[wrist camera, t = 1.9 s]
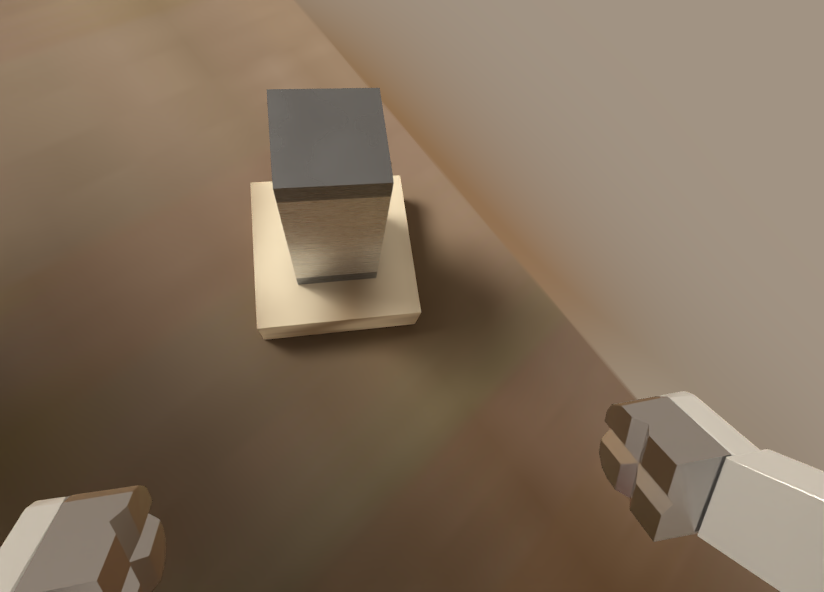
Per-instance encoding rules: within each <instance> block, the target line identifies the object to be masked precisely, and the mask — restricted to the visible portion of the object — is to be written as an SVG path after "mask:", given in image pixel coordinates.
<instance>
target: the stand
mask: <svg viewBox="0 0 824 592" xmlns="http://www.w3.org/2000/svg"><path fill="white" fill-rule="evenodd" d="M393 181H394V184H393V189H392V195H391V200H390V206H389V211H388V217H387V222H386V227H385V233H384V238H383V244H382V249H381V255H380V260H379V266H378V271H377V276H376V278H371V279H360V280H348V281H336V282H325V283H313V284H301V285H298V283H297V279H296V276H295V272H294V268H293V264H292V260H291V256H290V253H289V249H288V245H287V241H286V237H285V234H284V230H283V226H282V222H281V218H280V214H279V211H278V207H277V203H276V199H275V195H274V191H273V184H272V182H253V183H251V206H252V228H253V251H254V274H255V297H256V319H257V330H258V331H259V333H260V334H261V336H262V337H263V339H264V340H267V339H276V338H286V337H295V336H305V335H314V334H324V333H334V332H343V331H353V330H362V329H372V328H381V327H391V326H400V325H410V324H415V323H416V321H417V319H418V317H419V315H420V314H421V308H420V301H419V295H418V288H417V282H416V276H415V269H414V263H413V256H412V250H411V244H410V237H409V231H408V224H407V218H406V212H405V205H404V199H403V192H402V186H401V180H400V176H393Z"/></svg>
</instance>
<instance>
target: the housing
mask: <svg viewBox="0 0 824 592" xmlns="http://www.w3.org/2000/svg"><path fill="white" fill-rule="evenodd" d="M267 101H268V118H269V135H270V151H271V168H272V184H273V191H274V195H275V199H276V203H277V207H278V211H279V214H280V218H281V222H282V226H283V230H284V234H285V237H286V241H287V245H288V249H289V253H290V256H291V260H292V264H293V268H294V272H295V276H296V279H297V283H298V285H301V284H313V283H325V282H336V281H348V280H360V279H371V278H376V276H377V271H378V266H379V260H380V255H381V249H382V244H383V238H384V233H385V227H386V222H387V217H388V211H389V206H390V200H391V195H392V189H393V184H394V181H393V174H392V168H391V161H390V154H389V148H388V141H387V134H386V128H385V121H384V115H383V108H382V101H381V95H380V88H343V89H273V90H267Z"/></svg>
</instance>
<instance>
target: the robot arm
mask: <svg viewBox="0 0 824 592" xmlns="http://www.w3.org/2000/svg"><path fill="white" fill-rule="evenodd" d="M605 422H606V423H607V425H608V426H609V428H610V429H609V431H608V432H607V433H606V434H605V435H604V436H603V437H602V439H601V443H600V449H599V455H600V460H601V465H602V468H603V471H604V473H605V475H606V477H607V479H608V480H609V482H610V483H611V485H612V486H613V487H614V489H615V490H617V491H619V492H620V493H622V494H624V495H626V496H628V497H629V498H630V511H631V512H632V513H633V515H634V516H635V517H636V519H637V520H638V522H639V523H640V524H641V526H642V527H643V528H644V530H645V531H646V532H647V534H648V535H649V536H650V538H651V539H652V540H653V542H655V541H660V540H665V539H670V538H675V537H681V536H686V535H691V534H696V533H698V537H700V538H701V539H703V540H704V541H706V542H707V543H709V544H710V545H712V546H713V547H715V548H716V549H718V550H719V551H721V552H722V553H724V554H725V555H727V556H728V557H730V558H731V559H733V560H734V561H736V562H737V563H739V564H740V565H741V566H743V567H744V568H746V569H747V570H749V571H750V572H752V573H753V574H755V575H756V576H758V577H759V578H761V579H762V580H764V581H765V582H767V583H768V584H770V585H771V586H773V587H774V588H776V589H777V590H779V591H780V592H824V471H822V470H819V469H817V468H814V467H812V466H809V465H807V464H804V463H801V462H799V461H797V460H794V459H792V458H789V457H787V456H784V455H782V454H779V453H777V452H774V451H772V450H769V449H765V450H760V449H758V448H757V447H756V446H755V445H753V444H752V443H751V442H750V441H749V440H748V439H746V438H745V437H744V436H743V435H741V434H740V433H739V432H738V431H737V430H736V429H734V428H733V427H732V426H731V425H729V423H727V422H726V421H725V420H724V419H723V418H721V417H720V416H719V415H718V414H717V413H716V412H714V411H713V410H712V409H711V408H710V407H708V406H707V405H706V404H705V403H704V402H702V401H701V400H700V399H699V398H697V397H696V396H695V395H694V394H692V393H689V392H687V391H682V392H676V393H671V394H665V395H661V396H655V397H650V398H644V399H638V400H633V401H627V402H622V403H616V404H612V405H611V406H610V407H609V409H608V410H607V413H606V417H605ZM152 501H153V500H152V498H151V496H150V494H149V492H148V489H147V487H146V486H142V485H136V486H129V487H122V488H116V489H109V490H102V491H95V492H88V493H82V494H75V495H71V496H66V497H59V498H52V499H45V500H38V501H35V502H34V503H32V504H31V505H30V506H28V507H27V508H26V509H25V510H24V511H23V513H22V514H21V516H20V517H19V519H18V521H17V522H16V524H15V525H14V527H13V528H12V530H11V532H10V533H9V535H8V536H7V538H6V540H5V541H4V543H3V544H2V546H1V547H0V592H152V591H153V590H154V589H155V587H156V586H157V585H158V584H159V583H160V581H161V577H162V573H163V569H164V565H165V555H166V539H165V532H164V529H163V526H162V523H161V521H160V519H158V518H156V517H154V516H153V515H151V514H149V510H150V507H151V504H152Z"/></svg>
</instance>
